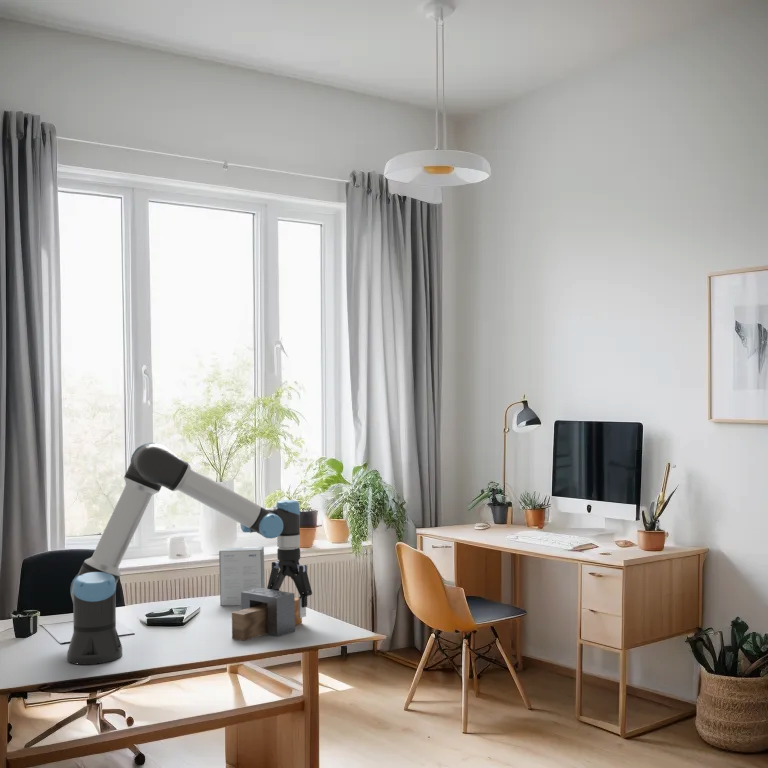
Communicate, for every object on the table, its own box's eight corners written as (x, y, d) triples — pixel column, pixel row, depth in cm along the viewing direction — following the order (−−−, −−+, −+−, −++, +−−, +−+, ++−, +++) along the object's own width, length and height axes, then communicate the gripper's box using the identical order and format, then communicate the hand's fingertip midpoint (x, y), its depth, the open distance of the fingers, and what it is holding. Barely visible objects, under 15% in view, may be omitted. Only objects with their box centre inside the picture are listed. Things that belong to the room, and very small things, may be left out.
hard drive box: (265, 600, 321) (265, 546, 322) (262, 605, 313) (261, 550, 314) (223, 601, 321) (223, 547, 322) (219, 606, 314) (218, 550, 314)
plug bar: (243, 640, 267) (243, 614, 267) (231, 638, 270) (231, 612, 270) (301, 623, 287) (301, 598, 287) (289, 620, 290) (289, 596, 291)
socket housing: (277, 636, 271) (276, 598, 271) (241, 629, 280) (241, 591, 281) (294, 631, 277) (294, 593, 277) (259, 624, 287) (258, 587, 287)
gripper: (322, 549, 283) (323, 617, 283) (271, 543, 297) (272, 607, 297) (307, 552, 277) (307, 621, 277) (255, 546, 291) (256, 612, 291)
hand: (289, 614), depth 287 cm, fingers open, 11 cm apart
